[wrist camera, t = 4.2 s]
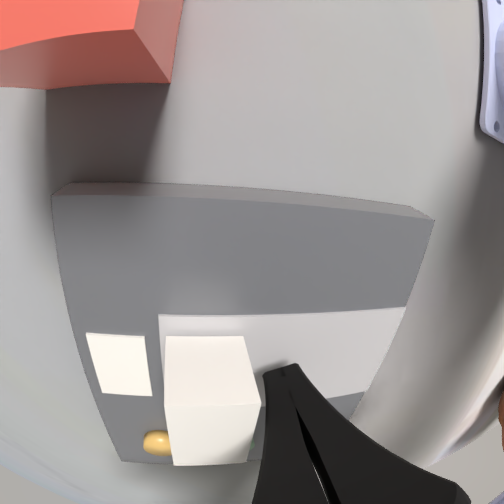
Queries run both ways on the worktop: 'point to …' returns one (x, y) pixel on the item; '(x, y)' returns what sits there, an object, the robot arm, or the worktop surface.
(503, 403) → the ceramic jug
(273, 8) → the worktop surface
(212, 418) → the block
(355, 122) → the worktop surface
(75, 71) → the block
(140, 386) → the breaker panel
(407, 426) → the worktop surface
